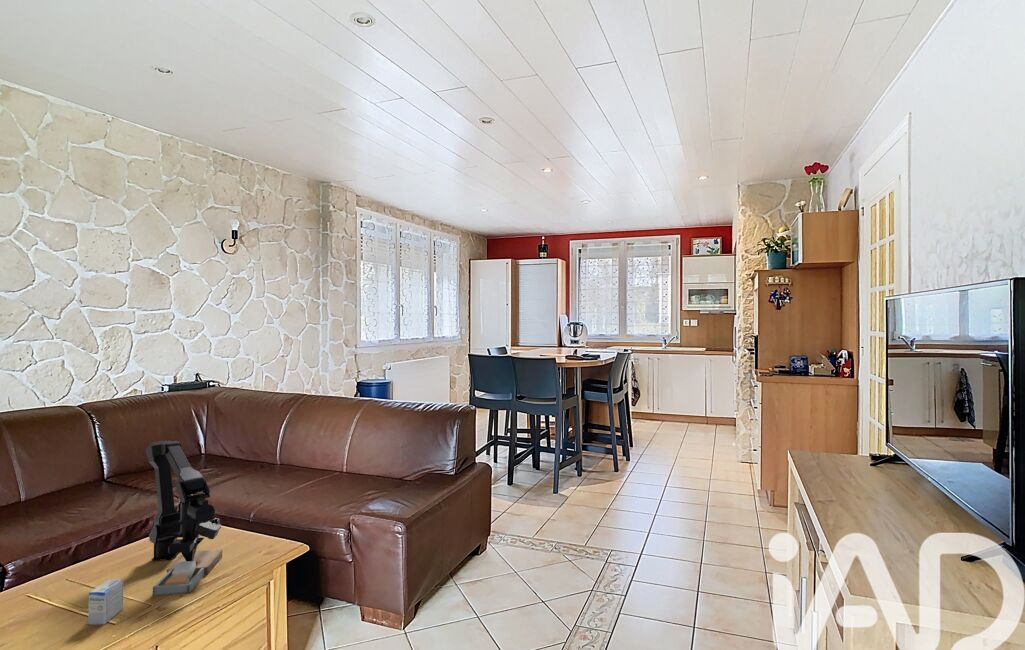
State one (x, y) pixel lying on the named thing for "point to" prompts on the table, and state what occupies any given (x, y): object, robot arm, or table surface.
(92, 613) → the medicine box
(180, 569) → the white block
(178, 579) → the tile terracotta
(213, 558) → the walnut board
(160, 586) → the tray
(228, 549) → the table surface
